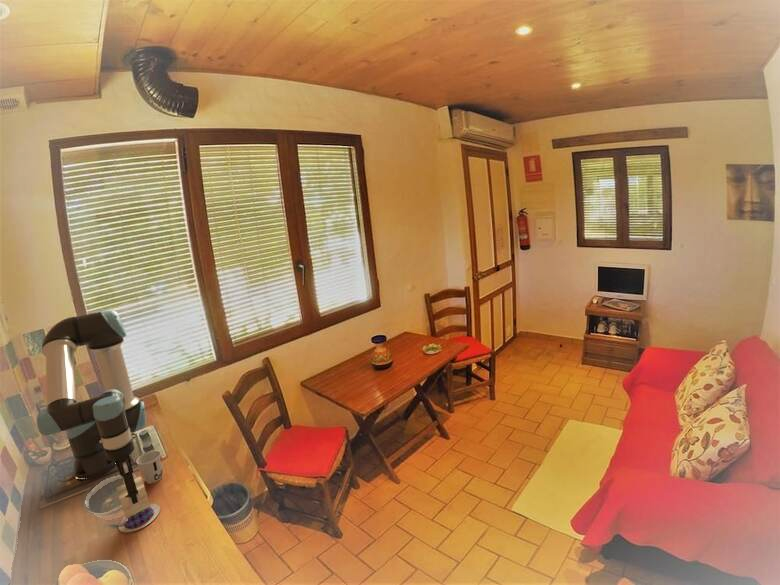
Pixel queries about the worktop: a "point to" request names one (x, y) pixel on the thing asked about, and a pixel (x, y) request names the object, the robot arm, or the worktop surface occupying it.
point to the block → (124, 501)
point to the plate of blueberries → (141, 518)
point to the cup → (151, 466)
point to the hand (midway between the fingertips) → (134, 500)
